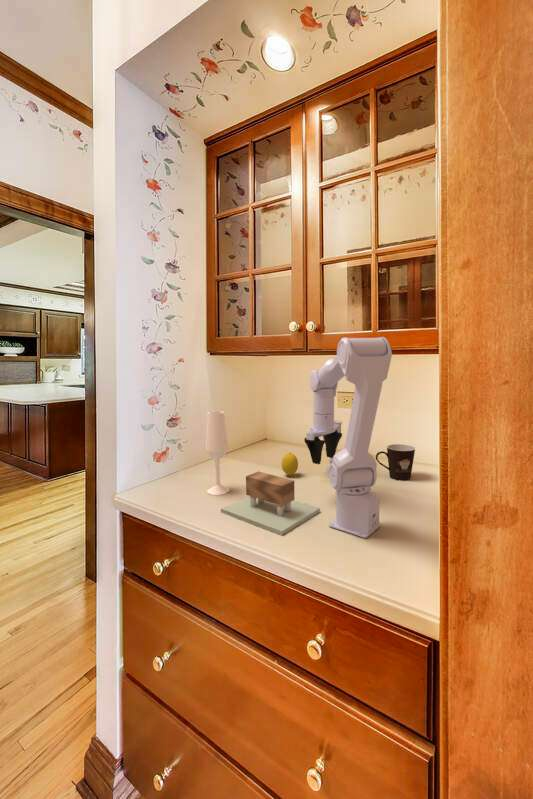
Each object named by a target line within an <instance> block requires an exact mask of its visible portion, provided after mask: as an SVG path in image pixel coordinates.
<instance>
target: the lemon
mask: <svg viewBox="0 0 533 799" xmlns="http://www.w3.org/2000/svg"><path fill="white" fill-rule="evenodd" d="M298 468H299V461H298V458H297V456H296V455H295V454H293V453H292V452H288V453H286V454H284V456H283V457H282V459H281V469H282V471H283V473H285V474H286V475H287V476H289V477H291V476H292V475H294V474H296V472H297V471H298Z"/></svg>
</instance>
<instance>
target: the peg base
mask: <svg viewBox="0 0 533 799" xmlns="http://www.w3.org/2000/svg"><path fill="white" fill-rule="evenodd" d="M320 512H321V508H320V507H318V506H314V505H311V504H308V503H304V502H301V501H298V500H293V501H291V502H289V503H287V504H286V505H284V506H280V505H277V504H274V503H271V502H268V501H265V500H261V499H258V498H255V497H252V496H249V495H247V496H246V497H244V498H242V499H239V500H237V501H236V502H235V501H234V502H233V503H231V504H229V505H226V506H224V507H221V508H220V513H222V514H224V515H227V516H230V517H231V518H232V517H233V518H235V519H237V520H240V521H243V522H246V523H248V524H250V525H253V526H256V527H258V528H261V529H264V530H266V531H269V532H272V533H274V532H275V533H274V534H276V533H277V535H279V534H280V535H279V536H283V534H284V535H285V534H286V533H288V532H290V531H291V530H293V529H295V528H296V527H298V526H300V525H301V524H303V523H304V522H306V521H308V520H309V519H311V518H312V517H314V516H316V515H317V514H319V513H320Z"/></svg>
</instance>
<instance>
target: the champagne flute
mask: <svg viewBox="0 0 533 799" xmlns="http://www.w3.org/2000/svg"><path fill="white" fill-rule="evenodd" d="M206 419H207V420H206V435H205V436H206V437H205V451H206V454H208V456H209V457H210V458H212V459H213V460H215V485H213V486H211V487H210V488H209V489H207V493H208V494H209V495H213V496H220V495H221V494H222V495H225V494H228V493H229V492H230V488H229V487H226V486H224V485H222V484H221V475H220V474H221V472H220V468H221V467H220V459H222V458H223V457H224V456H225V455H226V454H227V452H228V450H229V444H228V443H229V442H228V434H227V427H226V419H225V412H224V411H222V410H213V411H212V410H211V411H208V412H207V415H206ZM227 492H228V493H227ZM222 495H221V496H222Z"/></svg>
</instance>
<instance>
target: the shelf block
mask: <svg viewBox="0 0 533 799" xmlns="http://www.w3.org/2000/svg"><path fill="white" fill-rule="evenodd" d="M245 491H246V493H245V494H246V496H252V497H255V498H258V499H261V500H265V501H268V502H271V503H274V504H277V505H280V506H284V505H286V504H287V503H289V502H291V501H293V500H295V480H294V479H290V478H285V477H282V476H278V475H274V474H269V473H265V472H262V471H257V472H253V473H251V474H248V475H246V476H245ZM295 501H296V500H295Z"/></svg>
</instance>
